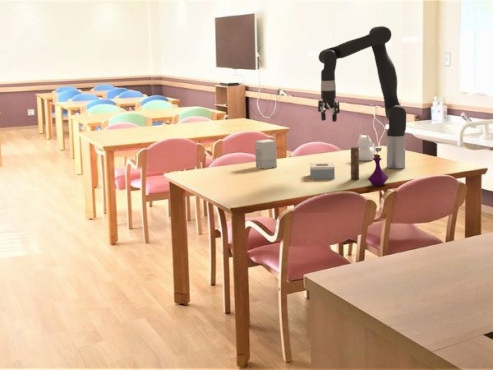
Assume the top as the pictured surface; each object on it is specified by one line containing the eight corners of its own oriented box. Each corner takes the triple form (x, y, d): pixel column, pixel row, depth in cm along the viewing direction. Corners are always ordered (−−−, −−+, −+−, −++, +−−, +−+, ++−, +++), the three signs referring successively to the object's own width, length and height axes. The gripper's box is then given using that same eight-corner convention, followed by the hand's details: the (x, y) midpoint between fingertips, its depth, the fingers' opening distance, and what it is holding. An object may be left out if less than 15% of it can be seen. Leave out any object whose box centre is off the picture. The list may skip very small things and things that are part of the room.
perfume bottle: (382, 187, 338) (382, 149, 334) (367, 185, 342) (367, 148, 338) (388, 184, 344) (388, 147, 341) (373, 182, 348) (373, 146, 345)
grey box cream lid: (333, 174, 372) (333, 162, 371) (334, 178, 360) (334, 166, 359) (310, 174, 373) (310, 163, 372) (310, 179, 361) (310, 167, 360)
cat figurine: (353, 160, 409) (353, 134, 406) (368, 157, 417) (368, 132, 413) (365, 162, 402) (364, 136, 399) (380, 159, 410) (380, 133, 406)
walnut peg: (358, 178, 359) (358, 147, 356) (359, 180, 356) (359, 148, 352) (350, 178, 360) (350, 147, 356) (351, 180, 356) (351, 148, 353)
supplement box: (269, 165, 404) (269, 138, 401) (277, 167, 396) (276, 140, 393) (255, 167, 400) (254, 140, 397) (262, 169, 392) (261, 142, 389)
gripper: (343, 89, 362) (343, 121, 366) (324, 88, 374) (325, 119, 377) (331, 90, 358) (332, 122, 362) (313, 89, 370) (314, 120, 373)
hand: (328, 121), depth 370 cm, fingers open, 8 cm apart
